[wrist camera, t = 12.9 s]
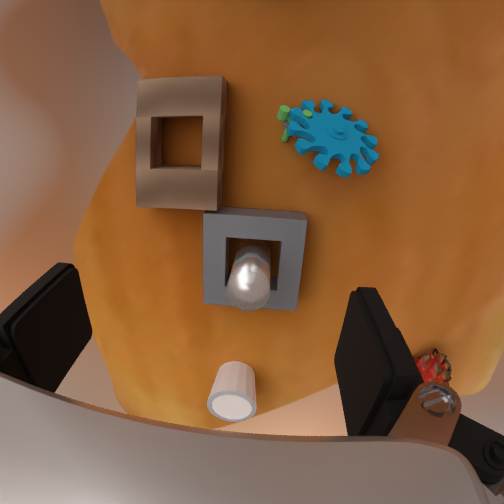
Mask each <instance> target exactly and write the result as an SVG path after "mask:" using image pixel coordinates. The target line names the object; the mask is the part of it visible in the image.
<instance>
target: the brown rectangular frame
mask: <svg viewBox="0 0 504 504" xmlns="http://www.w3.org/2000/svg"><path fill="white" fill-rule="evenodd" d="M227 88H228V82H227V81H226V79H225V78H224V77H223V76H188V77H169V78H155V79H144V80H138V92H137V113H136V205H137V207H150V208H175V209H196V210H214V211H217V209H218V208H219V206H220V205H221V203H222V194H223V167H224V144H225V124H226V105H227ZM191 117H203V134H202V162H201V166H194V165H162V145H163V118H191Z"/></svg>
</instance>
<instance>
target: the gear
mask: <svg viewBox="0 0 504 504" xmlns="http://www.w3.org/2000/svg"><path fill="white" fill-rule="evenodd" d="M314 106H315V103H314V102H313V101H311V100H304V101H303V103H302V105H301V108H302V110H303V111H302V110H301V109H300V108H298V107H295V108H293V109H292V110H290V108H289V107H288V106H286V105H282V106H280V109H279V112H278V114H277V118H278V119H279V120H281V121H283V126H284V127H285V130H284V133H283V135H282V137H281V140H282V141H283V142H287V140H288V138H289V136H300V137H303V138H304V139H302V138H300V139H297V142H296V144H295V148H296V150H297V152H298V153H299V154H302V155H303V154H306V153H307V152H309V151H319V153H318V154H317V156H316V157H315V159H314V161H313V164H314V165H315V166H316V167H317V168H318V169H320V170H321V171H323V170H325V169H326V167H327V165H328V164H329V161H330V160H332V159H334V158H337V159H339V160H340V161H341V162H342V163H340V165H339V166H338V167H337V169H336V174H338V175H340V176H342V177H345V178H347V177H348V176H349V175H350V174H351V172H352V168H351V166H350V162H349V159H350V158H352V159H354V160H355V161H356V167H355V170H356V172H357V174H360V175H363V174H367V173H368V172H369V170H370V169H371V167H370V165H372V164H374V162H375V161H376V160H377V159H378V158H379V154H378V153H377V152H375V151H373V150H371V149H374V148H375V146H376V145H377V138H376V137H375V136H373V135H366V134H364V133H365V132H366V130H367V129H368V125H367V123H366V122H365V121H364V120H362V119H360V120H358V121H348V120H346V119H349V118H350V116H351V115H352V111H351V110H349V109H348V108H347V107H345V106H344V107H342V108H341V110H340V112H339V113H337V114H332V113H330V110H331V108H332V107H333V103H332V102H330V101H327V100H324V99H323V100H322V102H321V104H320V106H319V107H320V109H321V113H317V112H315V111H314V109H313V108H314ZM289 112H290V113H289ZM305 139H306V140H305ZM307 140H308V141H307ZM309 141H310V142H309ZM363 142H364V143H365V144H364V143H363ZM361 153H363V154H364V156H365V159H366V161H367V162H368V163H369V164H370V165H369V164H368V163H367V162H366V161H365V160H364V158H363V157H362V155H361Z"/></svg>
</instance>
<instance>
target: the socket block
mask: <svg viewBox="0 0 504 504" xmlns="http://www.w3.org/2000/svg"><path fill="white" fill-rule="evenodd" d="M306 229H307V218H306V216H305V213H304V212H293V211H280V210H267V209H252V208H237V207H220V206H219V208H218V209H217V211H214V210H206V211H205V212H204V213H203V296H204V304H214V305H226V306H234V305H233V304H232V303H231V302H230V301H229V299H228V297H227V292H226V290H227V285H228V281H229V278H230V274H228V273H229V239H230V237H231V238H245V239H259V240H273V241H280V247H279V258H278V268H277V277H270V296H269V299H268V301H267V303H266V304H265V305H264V306H263V307H261V308H263V309H278V310H294V311H296V307H297V300H298V293H299V286H300V278H301V270H302V263H303V254H304V246H305V238H306Z"/></svg>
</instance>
